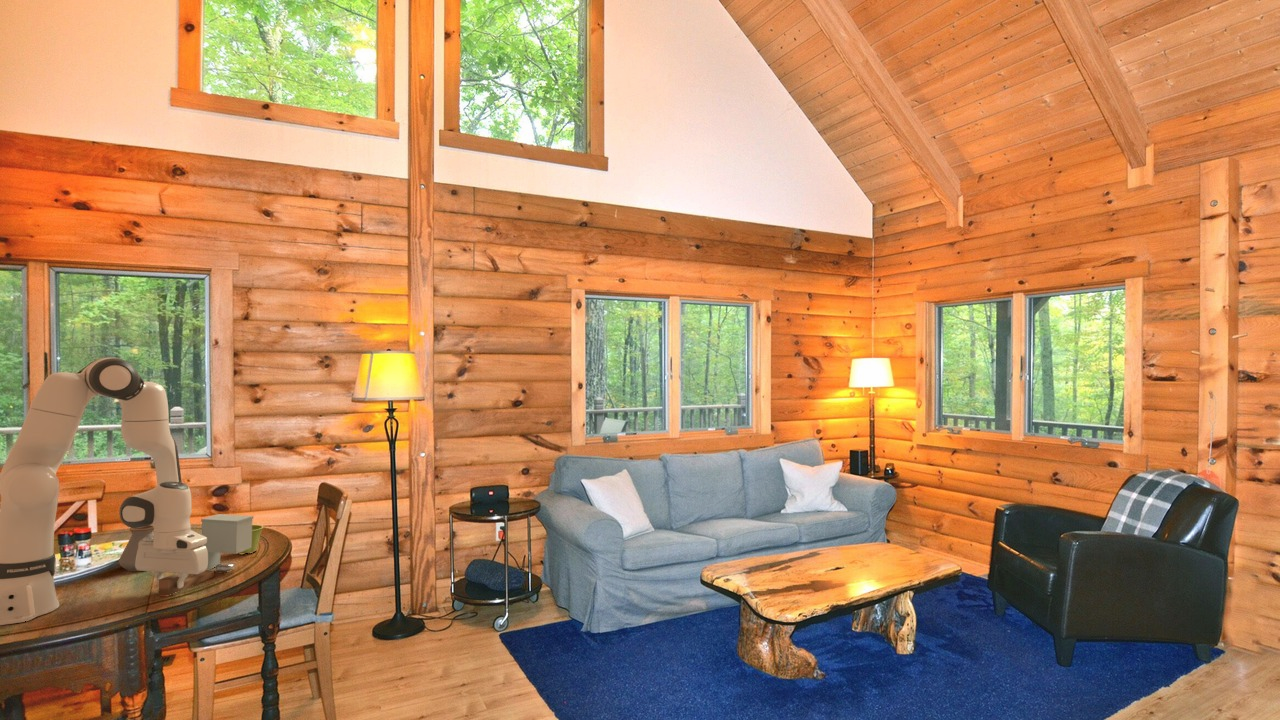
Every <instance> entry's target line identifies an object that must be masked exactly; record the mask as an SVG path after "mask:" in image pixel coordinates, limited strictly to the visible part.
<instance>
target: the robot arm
mask: <svg viewBox="0 0 1280 720" xmlns="http://www.w3.org/2000/svg"><path fill="white" fill-rule="evenodd" d="M165 389H166V388H164V387H163V385H161V384H160V383H157V382H154V381H147V380H146V381H144V379H143V378H142V376H141V375H140V374H139V372H138V371H137V369H136V368H135V367H134V365H133V364H132V363H130V362H128V361H127V360H124V359H123V358H119V357H115V356H105V357H102V358H98V359H95V360H93V361H91V362H90V363H88V364H87V365H85V367H83V368H82V369H80V370H79V371H78V372H76V373H74V372H69V371H58V372H54V373H52V374H49V375H48V376H47V377H46V378H45V380H44V381H43V383H41V385H40V386H39V388H38V390H37V392H36V394H35V396H34V398H33V399H32V401H31V404H30V408H28V411H27V414H26V415H25V419H24V421H23V424H22V426H21V429H20V431H19V434H18V435H17V438H16V440H15V442H14V444H13V445H12V448H11V450H10V451H9V454H8V455H7V458H6V460H5V462H4V464H3V466H2V468H1V471H0V626H4V625H12V624H17V623H26V622H28V621H31V620H33V619H35V618H36V617H37V618H38V617H39V616H43V615H46V614H49V613H51V612H53V611H55V610H57V609H58V608H59V607H60V602H59V600H58V596H57V593H56V587H55V579H54V576H55V573H56V567H57V566H56V563H57V558H56V554H55V553H54V550H55V549H54V543H55V524H56V517H57V516H56V515H57V511H58V503H59V494H60V493H59V491H60V479H59V477H58V475H57V472H58V470H59V468H60V465H62V462H63V460H64V458H65V456H66V454H67V453H68V451H69V450H70V448H71V446H72V443H73V441H74V439H75V436H76V433H77V430H78V429H79V426H80V423H81V420H82V417H84V416H83V415H84V412H85V409H86V406H87V405H88V403H89V402H90V401H91V400H92V399H93V398H94V397H96V396H101V397H105V398H106V397H108V398H111V399H112V398H113V399H116V400H118V402H119V404H120V408H121V425H120V432H121V436H122V439H123V441H124V443H125V444H126V445H127V446H128V447H130V448H131V449H133V450H135V451H138V452H142V453H143V454H144V453H145V454H146V455H148V456H150V458H151V459H152V460H153V462H154V469H155V475H156V484H157V485H156V486H155V487H154V488H151V489H149V490H146V491H143V492H141V493H136V494H134V495H130V496H129V497H126V498H125V499H123V501H122V503H120V507H119V514H118V515H119V518H120V520H121V522H122V523H123V524H124V525H125V526H126V527H128V528H129V529H130V528H141V527H145V526H153V527H154V530H153V538H148V537H146V538H143V539H142V540H140V542H139V544H138V551H137V555H136V561H135V567H136V569H137V570H139V571H141V572H143V571H144V572H153V577H154V578H155V580H156V581H157V587H158V588H159V579H162V578H165V577H164V573H171V574H172V573H173V574H177V575H178V577H180V578H179V579H178V581H177V582H174V585H175V586H174V588H182V587H183V586H184V580H185V579H186V578H187V577H189V575H194V574H199V573H202V572H204V571H205V570H206V569H207V566H208V551H207V548H206V547H205V546H204V544H206V543H207V538H206V537H205V536H203V535H202V534H200V533H198V532H196V531H194V530H192V525H191V521H190V518H191V516H192V515H191V514H192V512H193V511H192V506H193V505H192V492H191V491H192V490H191V489H190V487H189V485H188V484H186V483H184V482H182V481H183V480H182V474H181V465H180V460H179V452H178V445H177V441H176V440H175V439H174V437H172V434H171V430H170V429H171V428H170V421H169V419H170V418H169V417H170V416H169V415H170V413H169V404H168V403H169V402H168V396H167V392H166V390H165ZM139 571H138V572H139ZM25 621H26V622H25Z"/></svg>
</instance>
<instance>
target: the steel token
mask: <svg viewBox="0 0 1280 720" xmlns="http://www.w3.org/2000/svg"><path fill="white" fill-rule="evenodd" d="M233 569H234V570H235V563H234V562H222V563H221V562H220V564H218V565H216V568H215V573H217V572H226V573H228V572H227V571H230V570H233ZM234 570H233V571H234Z"/></svg>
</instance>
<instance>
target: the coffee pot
mask: <svg viewBox="0 0 1280 720" xmlns="http://www.w3.org/2000/svg"><path fill="white" fill-rule="evenodd" d="M129 531H130V533H131V536H130V538H129V539H128V542H127V543H126V546H125V547H124V549H123V552H122V553H121V555H120V557H119V558H118V564H119V565H120V567H121V568H123V569H125V570H126V571H127V572H139V570H137V569H136V567H135V561H136V555H137V551H138V544H139V542H140V540H142V539H143V538H146V537H148V538H153V536H154V534H153V532H154V527H153V526H145V527H141V528H130V527H129Z"/></svg>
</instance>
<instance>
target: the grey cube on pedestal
mask: <svg viewBox="0 0 1280 720" xmlns="http://www.w3.org/2000/svg"><path fill="white" fill-rule="evenodd" d="M253 519H254V515H240V514H224V513H220V514H219V513H218V514H214V515H211V516H207V517H204V518H201V519H200V522H201V535H203V536H205V537H206V538H207V543H206V544H204V546H205V547H206V548H207V551H208V566H207V569H206V570H210V569H211V570H213V569H212V568H214V567H216V565H218V564H221V554H234V555H236V554H238V553H239V552H242V551H244V550H247V549H250V548H251V546H252V525H253ZM214 569H215V568H214Z"/></svg>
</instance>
